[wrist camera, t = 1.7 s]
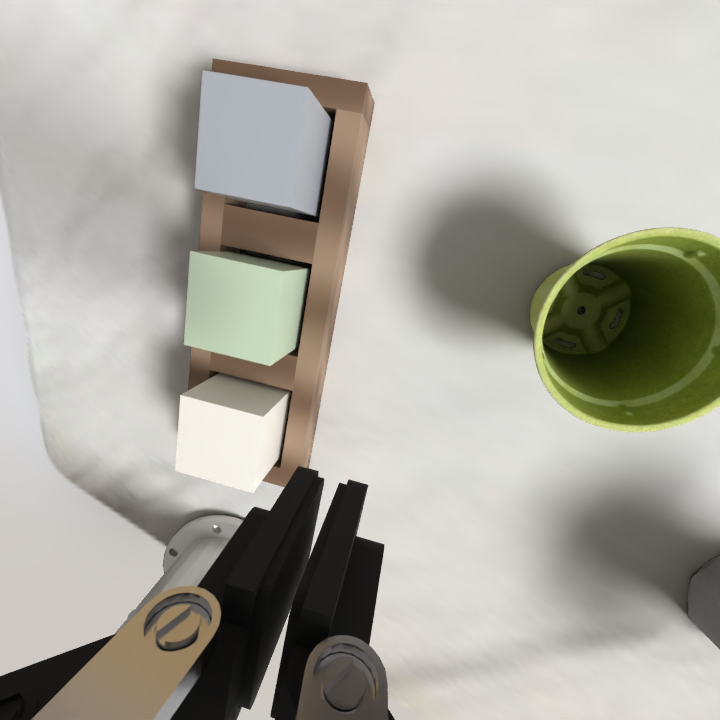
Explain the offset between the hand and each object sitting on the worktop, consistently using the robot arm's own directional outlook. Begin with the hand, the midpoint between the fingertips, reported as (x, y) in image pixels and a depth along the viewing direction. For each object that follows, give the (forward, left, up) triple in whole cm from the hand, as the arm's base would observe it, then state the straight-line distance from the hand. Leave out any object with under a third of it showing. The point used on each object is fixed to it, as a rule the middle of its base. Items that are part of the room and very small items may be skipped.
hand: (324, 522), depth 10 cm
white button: (-11, +2, -17) cm, 21 cm away
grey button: (+1, +14, -17) cm, 22 cm away
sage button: (-5, +8, -17) cm, 20 cm away
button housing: (-5, +8, -19) cm, 21 cm away
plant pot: (+12, -4, -19) cm, 23 cm away
